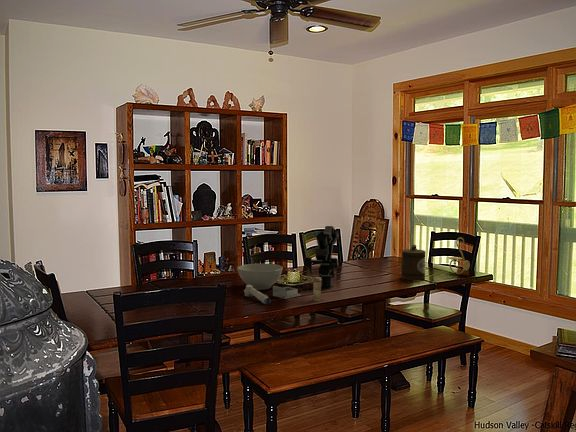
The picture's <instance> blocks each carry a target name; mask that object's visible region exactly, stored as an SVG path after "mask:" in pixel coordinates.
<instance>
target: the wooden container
mask: <svg viewBox="0 0 576 432" xmlns="http://www.w3.org/2000/svg"><path fill="white" fill-rule="evenodd" d="M410 247H411V248H408V249H407V248H406V249H402V252H401V279H402V280H404V279H407V280H406V281H409V280H421V281H423V280H422V279H424V280H426V255H427V254H426V250H424V249H417V245H416V244H412V245H410Z"/></svg>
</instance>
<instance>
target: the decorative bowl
mask: <svg viewBox="0 0 576 432" xmlns="http://www.w3.org/2000/svg"><path fill="white" fill-rule="evenodd" d="M283 269H284V267H283V266H282V265H280V264H274V263H249V264H242V265H239V266H237V273H238V275H239V277H240V279H241V280H242V282H244V284H245V285H252V287H253V288H254V289H256V290H257V291H262V290H269V289H270V288H272V286H274V284H275V283H276V282H277V281H278V280H279V279H280V278H281V275H282V273H283Z"/></svg>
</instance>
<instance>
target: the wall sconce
mask: <svg viewBox="0 0 576 432" xmlns="http://www.w3.org/2000/svg"><path fill="white" fill-rule="evenodd" d="M459 240H462V241H460V244H464V243H465V239H464V238H463V237H458V238H457V239H456V241H455V244H456V247H457V249H458V252H459V253H460V255H461V257H460V256H459V257H458V256H448V257H447V259H448V260H451V261H450V262H449V269H450V271H451V272H452V273H453V274H455V273H456V274H455V275H461V274H462V273H464V271H468V270H469V269H470V266H471V263H470V261H469V260H466V259H465V256H464V254H463V251H462V249H461V248H460V245H459V243H458V242H459ZM460 260H462V262H463V263H462V268H463V269H461V271H460V272H455V271H454V270H453V268H452V262H453V264H454V266H455V267H456V268H460V266H461V263H460ZM457 263H458V265H457Z"/></svg>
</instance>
